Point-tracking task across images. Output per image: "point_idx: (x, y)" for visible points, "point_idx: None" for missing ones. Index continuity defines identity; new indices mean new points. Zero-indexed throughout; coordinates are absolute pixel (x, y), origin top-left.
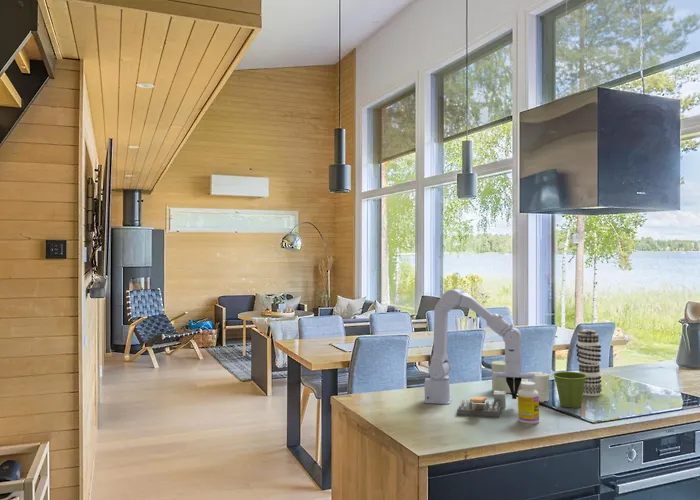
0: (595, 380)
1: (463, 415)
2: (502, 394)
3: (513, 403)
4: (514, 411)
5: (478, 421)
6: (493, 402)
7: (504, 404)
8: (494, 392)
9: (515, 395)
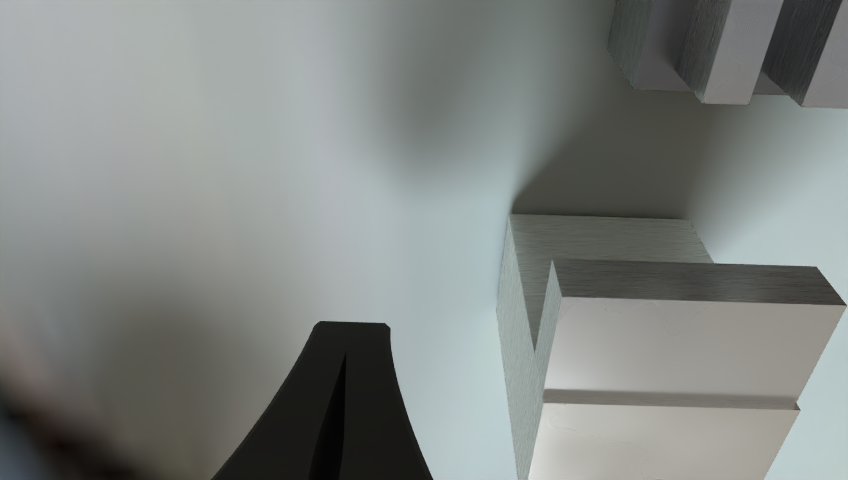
0: None
1: None
2: (617, 300)
3: None
4: (357, 43)
5: None
6: (843, 15)
7: (531, 244)
8: (783, 407)
9: (315, 363)
